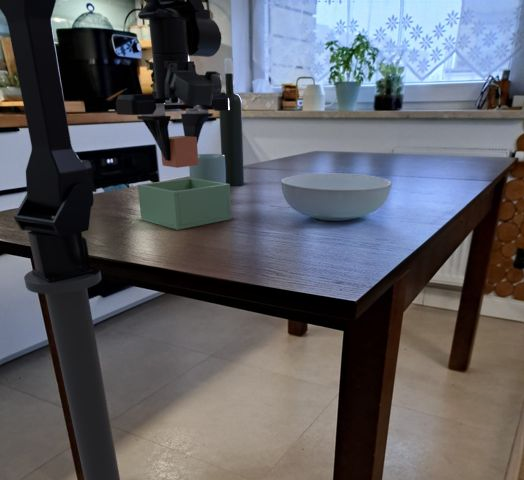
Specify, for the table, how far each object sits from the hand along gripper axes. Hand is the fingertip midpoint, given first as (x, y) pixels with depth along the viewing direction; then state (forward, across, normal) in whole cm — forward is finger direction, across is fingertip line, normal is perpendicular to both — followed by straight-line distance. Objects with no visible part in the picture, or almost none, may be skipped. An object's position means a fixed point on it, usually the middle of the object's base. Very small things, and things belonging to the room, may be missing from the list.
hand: (179, 159), depth 89 cm
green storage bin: (+12, +4, +6) cm, 14 cm away
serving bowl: (+12, +26, -12) cm, 32 cm away
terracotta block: (+1, 0, 0) cm, 1 cm away
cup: (+12, +18, +17) cm, 28 cm away
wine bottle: (+13, +39, +35) cm, 54 cm away
